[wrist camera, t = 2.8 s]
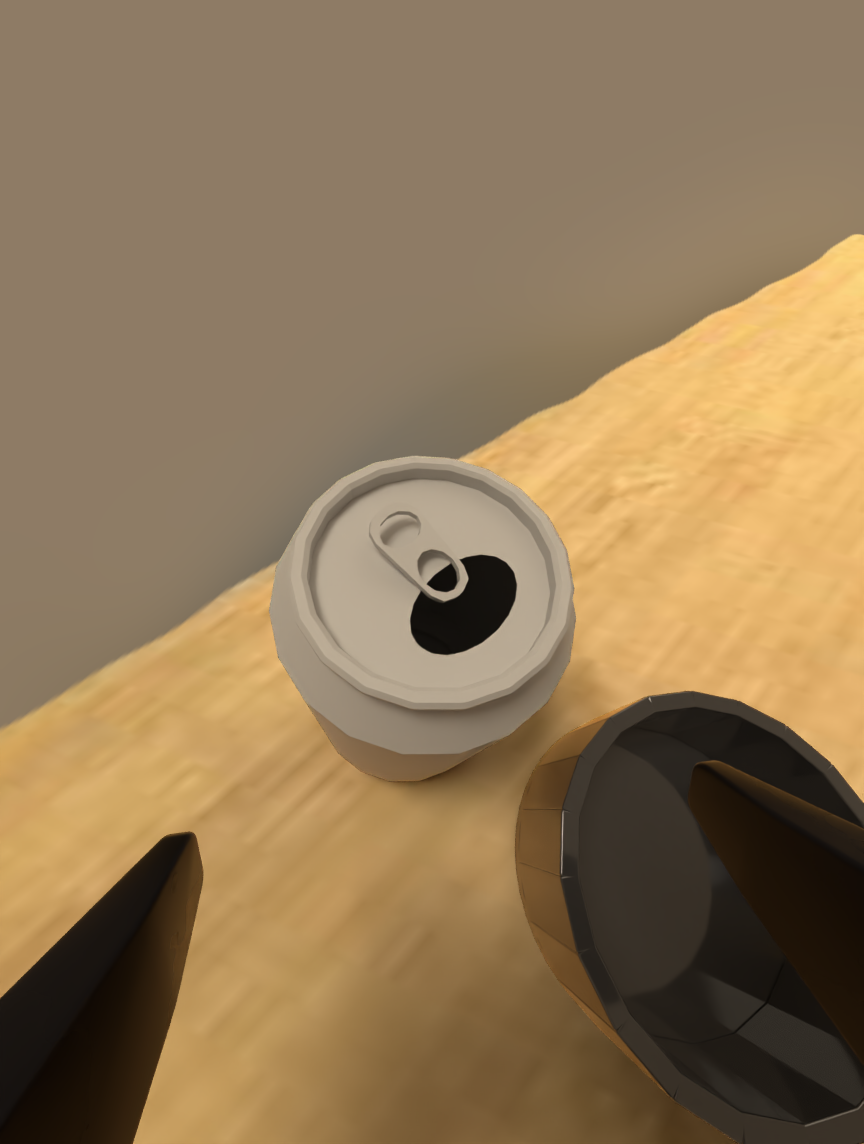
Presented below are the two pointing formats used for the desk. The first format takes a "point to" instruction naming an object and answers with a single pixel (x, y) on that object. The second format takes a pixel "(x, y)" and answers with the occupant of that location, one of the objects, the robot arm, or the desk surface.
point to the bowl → (684, 917)
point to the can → (423, 613)
